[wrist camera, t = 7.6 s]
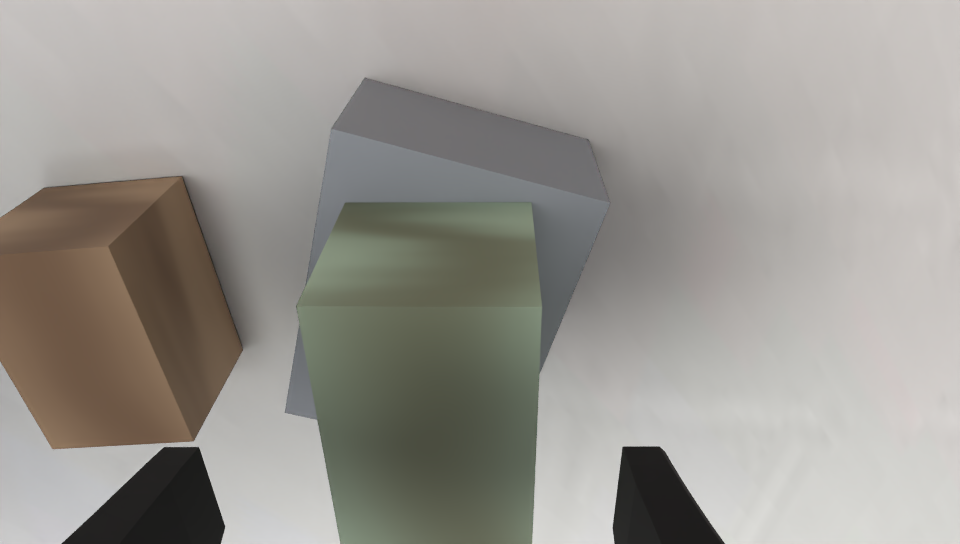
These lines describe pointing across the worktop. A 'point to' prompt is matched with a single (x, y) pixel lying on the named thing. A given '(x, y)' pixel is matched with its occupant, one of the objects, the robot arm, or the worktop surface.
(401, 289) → the sage brick
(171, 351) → the walnut brick
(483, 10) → the worktop surface
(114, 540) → the robot arm
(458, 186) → the slate brick
